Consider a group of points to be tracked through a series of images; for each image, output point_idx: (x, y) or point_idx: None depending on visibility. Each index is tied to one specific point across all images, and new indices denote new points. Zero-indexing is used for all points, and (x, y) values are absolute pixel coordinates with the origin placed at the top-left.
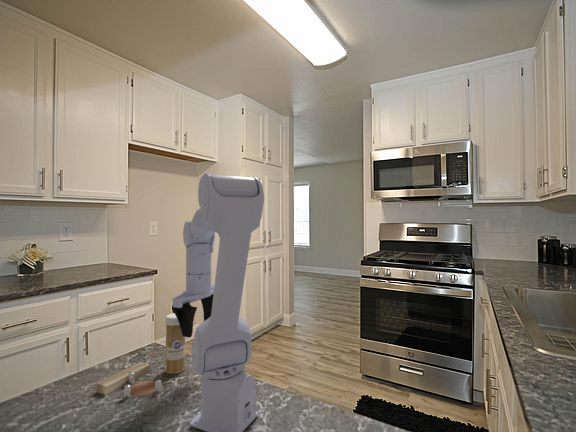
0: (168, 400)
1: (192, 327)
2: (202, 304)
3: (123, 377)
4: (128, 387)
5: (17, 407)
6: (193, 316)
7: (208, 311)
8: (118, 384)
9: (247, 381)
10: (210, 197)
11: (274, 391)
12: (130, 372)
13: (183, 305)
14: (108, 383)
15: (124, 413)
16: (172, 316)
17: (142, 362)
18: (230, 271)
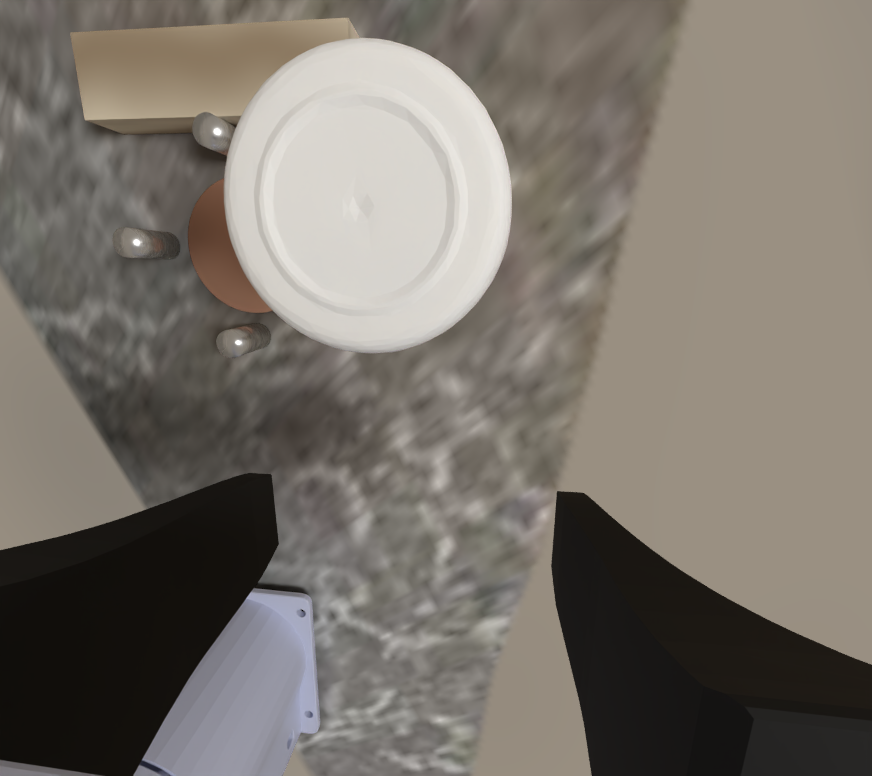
0: (245, 415)
1: (226, 618)
2: (635, 622)
3: (178, 115)
4: (124, 256)
5: None
6: (128, 754)
7: (593, 647)
8: (165, 125)
9: None
10: None
11: (471, 720)
12: (206, 119)
13: None
14: (104, 99)
15: (111, 327)
16: (281, 215)
17: (348, 35)
18: None
